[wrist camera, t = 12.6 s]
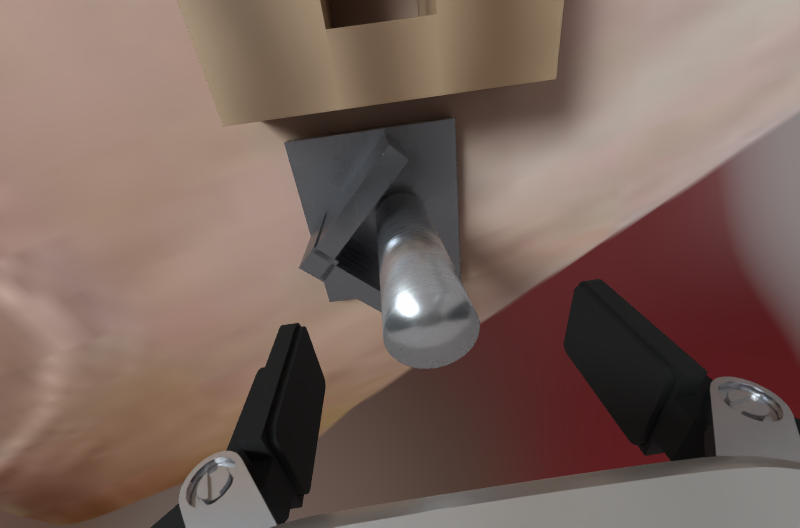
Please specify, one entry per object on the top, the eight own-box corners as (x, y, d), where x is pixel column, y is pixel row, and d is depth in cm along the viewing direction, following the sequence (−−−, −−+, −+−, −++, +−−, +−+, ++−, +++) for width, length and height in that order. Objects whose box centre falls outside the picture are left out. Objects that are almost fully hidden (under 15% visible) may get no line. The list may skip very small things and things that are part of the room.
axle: (424, 189, 21) (479, 285, 11) (429, 237, 23) (479, 360, 13) (372, 197, 21) (375, 301, 11) (380, 245, 23) (390, 375, 13)
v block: (457, 275, 26) (479, 322, 21) (331, 295, 26) (321, 347, 21) (451, 116, 20) (480, 126, 15) (287, 140, 20) (259, 158, 15)
